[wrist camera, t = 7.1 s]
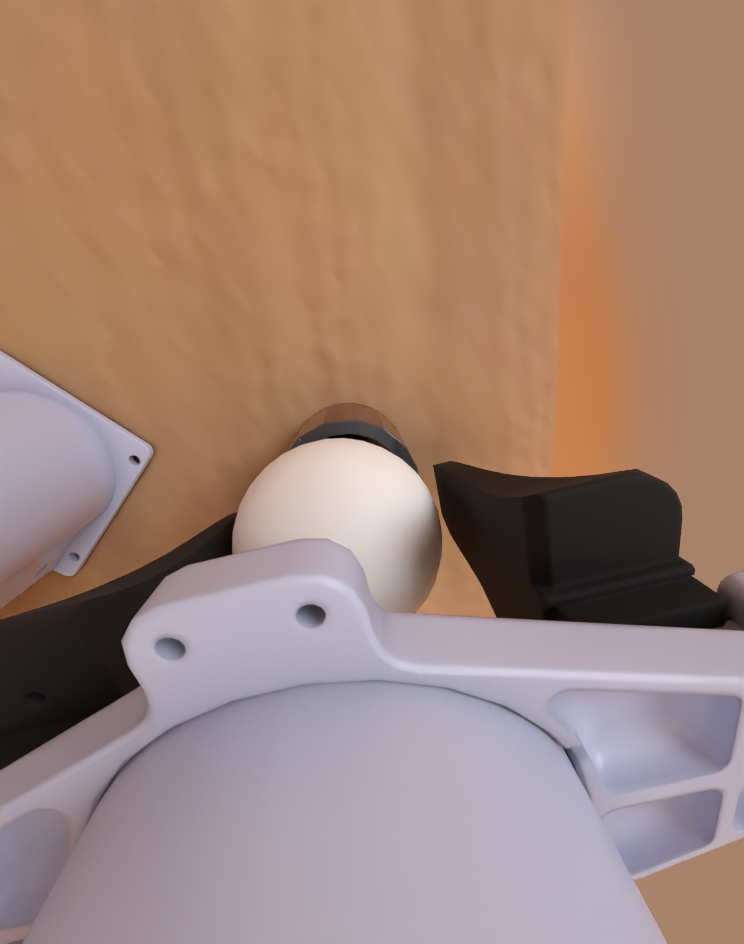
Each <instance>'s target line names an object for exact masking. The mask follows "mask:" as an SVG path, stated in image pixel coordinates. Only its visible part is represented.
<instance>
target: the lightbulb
mask: <svg viewBox="0 0 744 944" xmlns="http://www.w3.org/2000/svg"><path fill="white" fill-rule="evenodd" d="M314 538H327V539H329V540H331V541H333V542H335V543H337V544H339V545H341V546H344V547H346V548H348V549H350V550H351V551H352V553H353V554H354V556H355V557H356V559H357V560H358V562H359V563H360V565H361V566H362V568H363V569H364V573H365V576H366V580H367V583H368V587H369V590H370V593H371V595H372V597H373V599H374V602H375V603H376V604H377V605H378V606H379V607H380V608H382V609H384V610H386V611H388V612H395V613H414V614H415V613H416V612H417V611H418V609H419V608H420V607H421V606H422V604H423V603H424V602H425V600H426V599H427V597H428V595H429V593H430V591H431V589H432V587H433V585H434V583H435V580H436V576H437V573H438V569H439V565H440V560H441V552H442V533H441V525H440V520H439V514H438V510H437V508H436V506H435V503H434V501H433V499H432V496H431V494H430V492H429V490H428V488H427V487H426V485H425V484H424V482H423V481H422V480H421V478H420V477H419V476H418V474H417V473H416V472H415V471H414V470H413V469H412V468H411V467H410V466H409V465H408V464H407V463H406V462H404V461H403V460H402V459H401V458H399V457H398V456H396V455H394V454H392V453H391V452H389V451H387V450H386V449H384V448H382V447H379V446H376V445H373V444H371V443H368V442H365V441H361V440H354V439H347V438H334V439H323V440H319V441H315V442H310V443H306V444H303V445H300V446H298V447H296V448H294V449H292V450H290V451H287V452H285V453H283V454H282V455H280V456H279V457H278V458H276V459H275V460H274V461H272V462H271V463H270V464H268V465H267V466H266V467H265V468H264V470H263V471H262V472H261V473H260V474H259V475H258V476H257V478H256V479H255V480H254V481H253V483H252V484H251V485H250V486H249V488H248V490H247V492H246V494H245V496H244V497H243V499H242V501H241V503H240V506H239V509H238V513H237V516H236V520H235V524H234V528H233V535H232V555H233V554H237V553H241V552H245V551H249V550H254V549H258V548H262V547H266V546H270V545H275V544H279V543H283V542H287V541H291V540H296V539H314Z"/></svg>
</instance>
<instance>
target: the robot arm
mask: <svg viewBox="0 0 744 944" xmlns="http://www.w3.org/2000/svg"><path fill="white" fill-rule="evenodd" d="M134 456H137V457H138V458H139V459H140V463H138V462H136V461H135V460H134V458H133V457H134ZM152 456H153V449H152V447H151V446H150V445H149V444H148V443H146V442H145V441H143V440H142V439H140V438H138V437H137V436H135V435H134V434H132V433H130V432H129V431H127V430H126V429H124V428H123V427H121V426H119V425H118V424H116V423H115V422H113V421H111V420H110V419H108V418H107V417H105V416H103V415H102V414H100V413H99V412H97V411H96V410H94V409H92V408H91V407H89V406H88V405H86V404H84V403H83V402H81V401H80V400H78V399H77V398H75V397H73V396H72V395H70V394H69V393H67V392H65V391H64V390H62V389H61V388H59V387H57V386H56V385H54V384H53V383H51V382H50V381H48V380H46V379H45V378H43V377H42V376H40V375H38V374H37V373H35V372H34V371H32V370H30V369H29V368H27V367H26V366H24V365H23V364H21V363H19V362H18V361H16V360H15V359H13V358H11V357H10V356H8V355H7V354H5V353H3V352H2V351H0V609H1V608H2V607H4V606H5V605H6V604H8V603H9V602H10V601H12V600H13V599H14V598H16V597H17V596H18V595H20V594H21V593H22V592H24V591H25V590H26V589H27V588H29V587H30V586H31V585H33V584H34V583H35V582H37V581H38V580H39V579H41V578H42V577H43V576H45V575H46V574H47V573H49V572H50V571H51V570H54V571H56V572H58V573H60V574H62V575H65V576H73V575H75V574H76V573H77V572H78V571H79V570H80V569H81V568H82V566H83V564H84V563H85V561H86V560H87V558H88V557H89V555H90V554H91V552H92V550H93V549H94V547H95V546H96V544H97V543H98V541H99V539H100V538H101V536H102V535H103V533H104V532H105V530H106V528H107V527H108V525H109V524H110V522H111V521H112V519H113V518H114V516H115V514H116V513H117V511H118V510H119V508H120V507H121V505H122V503H123V502H124V500H125V499H126V497H127V496H128V494H129V492H130V491H131V489H132V488H133V486H134V485H135V483H136V482H137V480H138V478H139V477H140V475H141V474H142V472H143V471H144V469H145V467H146V466H147V464H148V463H149V461H150V460H151V458H152ZM433 467H434V472H435V478H436V484H437V489H438V495H439V500H440V506H441V511H442V516H443V518H444V520H445V523H446V525H447V527H448V530H449V532H450V534H451V536H452V538H453V539H454V541H455V543H456V544H457V546H458V547H459V549H460V551H461V552H462V554H463V555H464V557H465V559H466V560H467V562H468V563H469V565H470V567H471V568H472V570H473V571H474V573H475V575H476V576H477V578H478V580H479V582H480V583H481V585H482V587H483V589H484V591H485V593H486V596H487V598H488V600H489V602H490V604H491V606H492V608H493V610H494V613H495V615H496V617H497V618H491V617H472V616H452V615H433V614H414V613H395V612H388V611H386V610H384V609H382V608H380V607H379V606H378V605H377V604H376V603H375V602H374V599H373V597H372V595H371V593H370V590H369V587H368V583H367V580H366V576H365V573H364V569H363V568H362V566H361V565H360V563H359V562H358V560H357V559H356V557H355V556H354V554H353V553H352V551H351V550H350V549H348V548H346V547H344V546H341V545H339V544H337V543H335V542H333V541H331V540H329V539H327V538H314V539H296V540H291V541H287V542H283V543H279V544H275V545H270V546H266V547H262V548H258V549H254V550H249V551H245V552H241V553H237V554H233V555H232V535H233V528H234V524H235V520H236V516H237V513H238V512H237V513H233V514H231V515H229V516H227V517H225V518H223V519H221V520H220V521H218V522H216V523H215V524H213V525H212V526H210V527H209V528H207V529H205V530H204V531H202V532H201V533H199V534H198V535H196V536H195V537H193V538H192V539H190V540H188V541H187V542H185V543H184V544H182V545H180V546H179V547H177V548H175V549H174V550H172V551H171V552H169V553H167V554H166V555H164V556H162V557H160V558H158V559H157V560H155V561H153V562H151V563H149V564H147V565H145V566H143V567H141V568H139V569H137V570H135V571H133V572H131V573H129V574H127V575H124V576H122V577H120V578H118V579H115V580H113V581H111V582H109V583H106V584H104V585H102V586H99V587H97V588H94V589H92V590H89V591H87V592H84V593H82V594H79V595H76V596H73V597H71V598H68V599H65V600H62V601H59V602H56V603H53V604H51V605H47V606H44V607H41V608H38V609H34V610H31V611H28V612H25V613H22V614H18V615H15V616H12V617H8V618H5V619H1V620H0V944H667V942H666V941H665V939H664V937H663V935H662V933H661V931H660V929H659V928H658V926H657V924H656V922H655V920H654V918H653V916H652V914H651V913H650V911H649V909H648V907H647V905H646V903H645V901H644V899H643V897H642V896H641V894H640V892H639V890H638V888H637V886H636V884H635V882H634V881H635V880H637V879H640V878H642V877H645V876H647V875H650V874H652V873H655V872H657V871H660V870H662V869H665V868H667V867H670V866H673V865H675V864H678V863H680V862H683V861H685V860H688V859H690V858H693V857H695V856H698V855H700V854H703V853H705V852H708V851H711V850H713V849H715V848H718V847H721V846H723V845H725V844H728V843H731V842H733V841H736V840H738V839H741V838H743V837H744V571H741V572H737V573H733V574H731V575H729V576H727V577H725V578H724V579H723V580H722V581H721V582H720V584H719V586H718V588H717V593H716V592H715V591H713V590H712V589H710V588H709V587H707V586H706V585H704V584H702V583H701V582H700V581H698V580H697V579H695V578H694V577H692V576H691V575H694V572H695V569H694V567H693V565H692V564H690V563H689V562H687V561H685V560H684V559H682V558H681V557H679V547H680V536H681V525H682V505H681V502H680V500H679V498H678V495H677V493H676V492H675V491H674V490H673V489H672V488H671V486H669V484H668V483H666V482H664V481H662V480H660V479H658V478H656V477H654V476H651V475H649V474H647V473H645V472H642V471H640V470H638V469H633V470H625V471H619V472H612V473H605V474H599V475H589V476H577V477H527V476H517V475H509V474H503V473H498V472H493V471H488V470H484V469H480V468H476V467H473V466H469V465H466V464H462V463H458V462H453V461H449V462H445V463H441V464H436V465H433ZM75 553H76V554H77V555H79V557H78V556H76V555H75Z"/></svg>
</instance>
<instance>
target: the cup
mask: <svg viewBox="0 0 744 944" xmlns="http://www.w3.org/2000/svg"><path fill="white" fill-rule="evenodd" d="M334 438H347V439H354V440H361V441H365V442H368V443H371V444H373V445H376V446H379V447H382V448H384V449H386V450H387V451H389V452H391V453H392V454H394V455H396V456H398V457H399V458H401V459H402V460H403V461H404V462H406V463H407V464H408V465H409V466H410V467H411V468H412V469H413V470H414V471H415V472H416V473H417V474H418V468H417V466H416V464H415V462H414V460H413V458H412V456H411V454H410V453H409V451H408V449H407V447H406V445H405V443H404V442H403V440H402V438H401V436H400V434H399V433H398V431H397V429H396V427H395V426H394V425H393V423H391V422H390V420H389V419H387V418H386V417H385V416H384V415H383V414H381V413H380V412H379V411H377V410H375V409H373V408H371V407H368V406H365V405H361V404H356V403H341V404H335V405H332V406H329V407H326V408H324V409H322V410H320V411H318V412H317V413H315V414H314V415H313V416H311V417H310V418H309V419H308V420H307V421H306V422H305V424H304V425H303V426H302V428H301V429H300V431H299V432H298V433H297V435H296V436H295V438H294V440H293V441H292V443H291V445H290V447H289V448H288V450H287V451H290V450H292V449H294V448H296V447H298V446H300V445H303V444H306V443H310V442H315V441H319V440H323V439H334ZM418 476H419V474H418Z"/></svg>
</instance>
